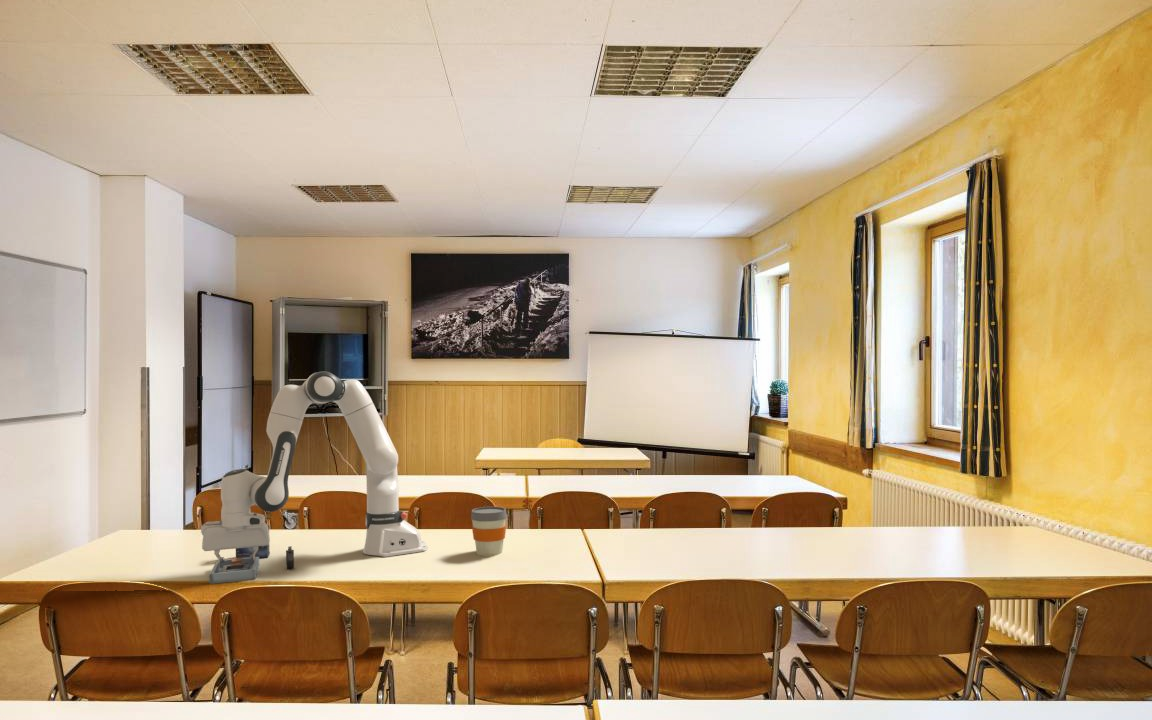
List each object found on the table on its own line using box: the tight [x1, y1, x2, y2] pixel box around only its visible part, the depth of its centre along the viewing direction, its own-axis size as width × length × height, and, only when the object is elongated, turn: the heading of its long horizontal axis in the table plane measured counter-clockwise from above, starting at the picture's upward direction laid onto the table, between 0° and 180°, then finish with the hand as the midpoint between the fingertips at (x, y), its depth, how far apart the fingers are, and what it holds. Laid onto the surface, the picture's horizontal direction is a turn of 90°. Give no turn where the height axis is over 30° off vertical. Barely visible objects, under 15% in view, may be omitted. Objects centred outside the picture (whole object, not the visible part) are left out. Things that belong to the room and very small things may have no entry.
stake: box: [285, 546, 295, 571], centre depth 248 cm, size 2×3×7 cm
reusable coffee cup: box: [470, 506, 508, 557], centre depth 265 cm, size 13×13×15 cm
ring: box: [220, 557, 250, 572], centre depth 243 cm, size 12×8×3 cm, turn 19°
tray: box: [209, 557, 260, 585], centre depth 243 cm, size 13×18×3 cm
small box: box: [235, 524, 271, 560], centre depth 264 cm, size 11×6×10 cm, turn 105°
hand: (236, 561), depth 246 cm, fingers open, 8 cm apart
